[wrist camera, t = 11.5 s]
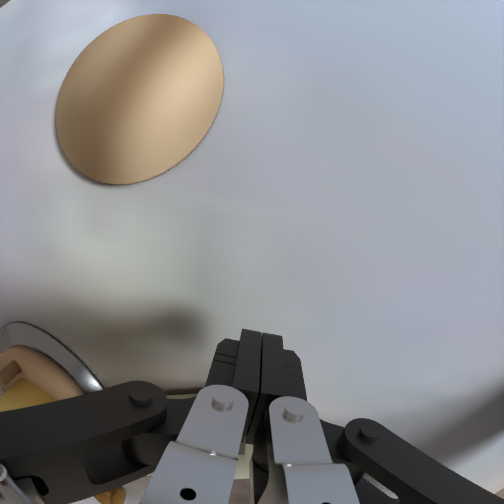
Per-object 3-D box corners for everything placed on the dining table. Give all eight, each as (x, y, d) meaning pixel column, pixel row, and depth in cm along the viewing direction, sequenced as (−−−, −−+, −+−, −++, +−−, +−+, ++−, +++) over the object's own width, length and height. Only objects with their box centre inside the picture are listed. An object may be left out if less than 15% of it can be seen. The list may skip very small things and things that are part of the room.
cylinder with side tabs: (-1, 364, 14) (-78, 432, 4) (37, 367, 14) (-54, 458, 4) (63, 461, 16) (19, 534, 7) (109, 473, 16) (66, 562, 6)
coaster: (244, 24, 11) (243, 17, 10) (197, 200, 13) (194, 201, 12) (91, 24, 11) (87, 20, 10) (48, 172, 13) (41, 172, 12)
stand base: (121, 364, 15) (119, 366, 15) (128, 472, 18) (127, 474, 18) (-14, 297, 15) (-16, 298, 15) (16, 413, 18) (14, 414, 18)
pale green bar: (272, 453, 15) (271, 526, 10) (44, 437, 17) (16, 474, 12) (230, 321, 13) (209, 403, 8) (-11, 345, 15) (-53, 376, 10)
